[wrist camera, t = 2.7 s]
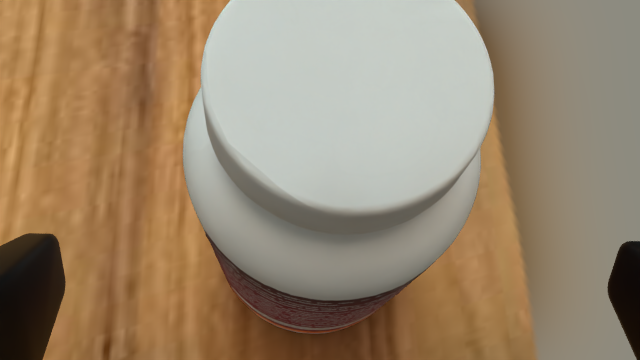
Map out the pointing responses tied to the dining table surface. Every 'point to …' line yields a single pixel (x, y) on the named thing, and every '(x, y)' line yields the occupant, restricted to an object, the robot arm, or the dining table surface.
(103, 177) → the dining table surface
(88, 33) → the dining table surface
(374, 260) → the pill bottle
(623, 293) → the robot arm
